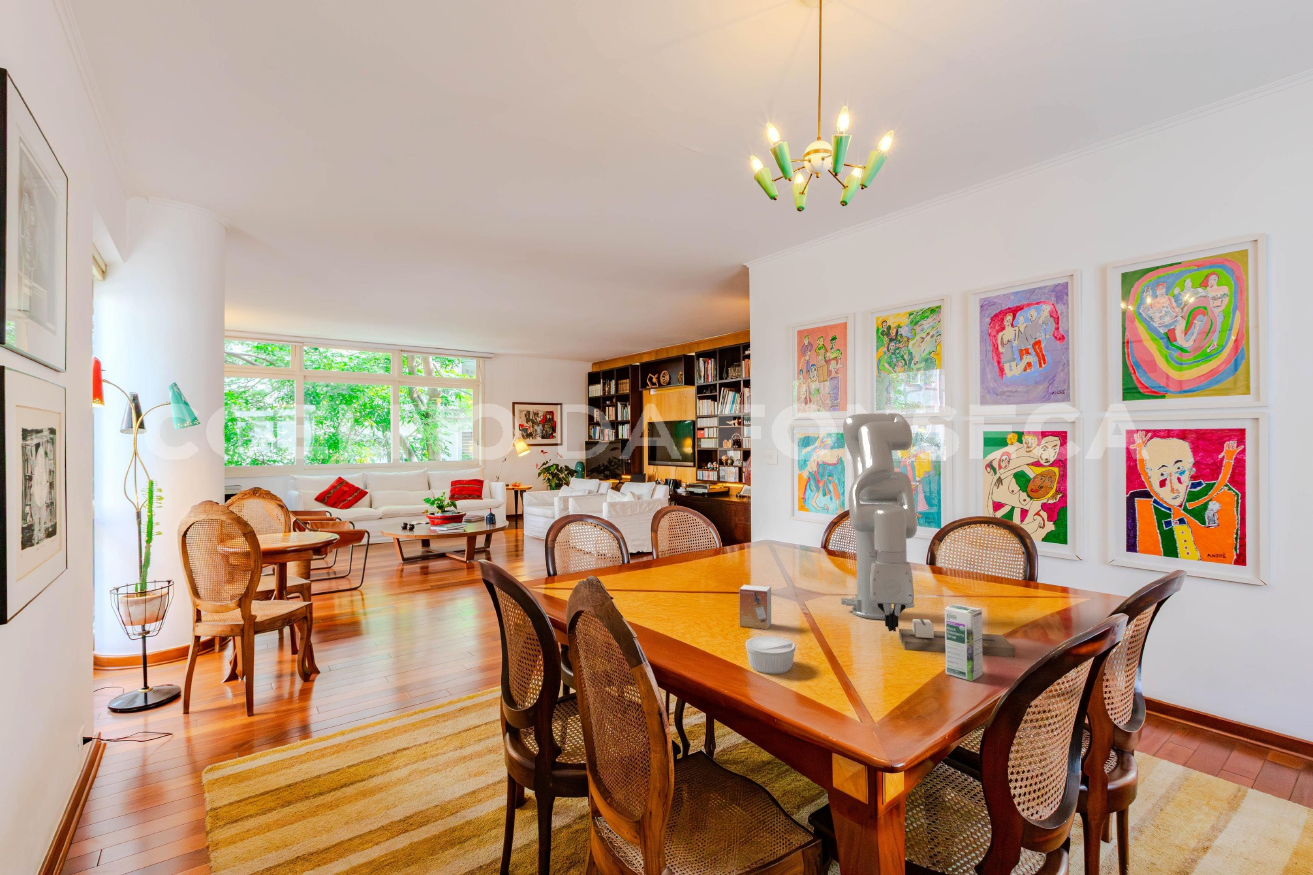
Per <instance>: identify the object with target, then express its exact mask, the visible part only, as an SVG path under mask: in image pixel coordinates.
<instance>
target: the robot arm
mask: <svg viewBox="0 0 1313 875" xmlns="http://www.w3.org/2000/svg"><path fill="white" fill-rule="evenodd" d="M842 433H843V439H844V444H845V446H846V448H847V450H848V452H849V454H850V457H851V460H852V466H853V482H852V484H851V486H850V487H849V488H850V489H849V491H848V510H849V521H850V524H851V527H852V528H853V531H854V535H855V536H854V537H855V546H856V549H855V550H856V552H855V553H856V590H857V591H856V594H855V597H852V598H848V597H840V604H841V605H845V606H846V607H851V612H852V614H854V615H855V616H857V617H860V618H864V619H871V620H884V624H885V625H884V626H885V627H886V628H887V630H888V631H889V632H892V631H893V632H897V628H899V616H900V614H901V613H902V612H903V611H904V610H906V609H911V608H912V609H913V608H914V607H915V603H914V601H915V591H914V589H915V588H914V580H913V571H912V565H911V563H909V562H908V560H907V557H908V555H907V539H912V538H913V537H915V536H916V534H917V530H918V521H917V513H916V507H915V497H914V491H913V490H914V489H913V484H912V481H911V478H910V477H909V475H908V474H907V473H905V472H904V471H903V472H902V471H895V464H894V463H895V462H894V458H893V451H895V452H896V451H908V450H910V448H911V447H912V445H913V431H912V428H911V425H910V423H909V422H908V421H907V420H906V418H905V417H904V416H903V414H900V413H896V412H893V413H891V412H889V413H888V412H885V413H884V412H883V413H882V412H881V413H878V412H877V413H855V414H852V415H849V416H847V417H846V418H845V419H844V421H843V424H842ZM861 502H862V503H861ZM892 606H893V607H892Z"/></svg>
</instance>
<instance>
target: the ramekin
mask: <svg viewBox="0 0 1313 875" xmlns="http://www.w3.org/2000/svg"><path fill="white" fill-rule="evenodd" d="M745 649H746V653H747V660H748V664H749V666H750V667H751V669H753V670H754V671H756V672H759V673H763V674H767V675H770V674H771V675H777V674H778V675H779V674H784V673H787V672H789V671H790V670H791V668H792V667H793V663H794V657H795V652H796V644H795V643H794V642H793V641H792V640H790V639H787V638H785V637H782V636H781V637H780V636H773V635H760V636H754V637H751V638H747V640H746V641H745Z"/></svg>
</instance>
